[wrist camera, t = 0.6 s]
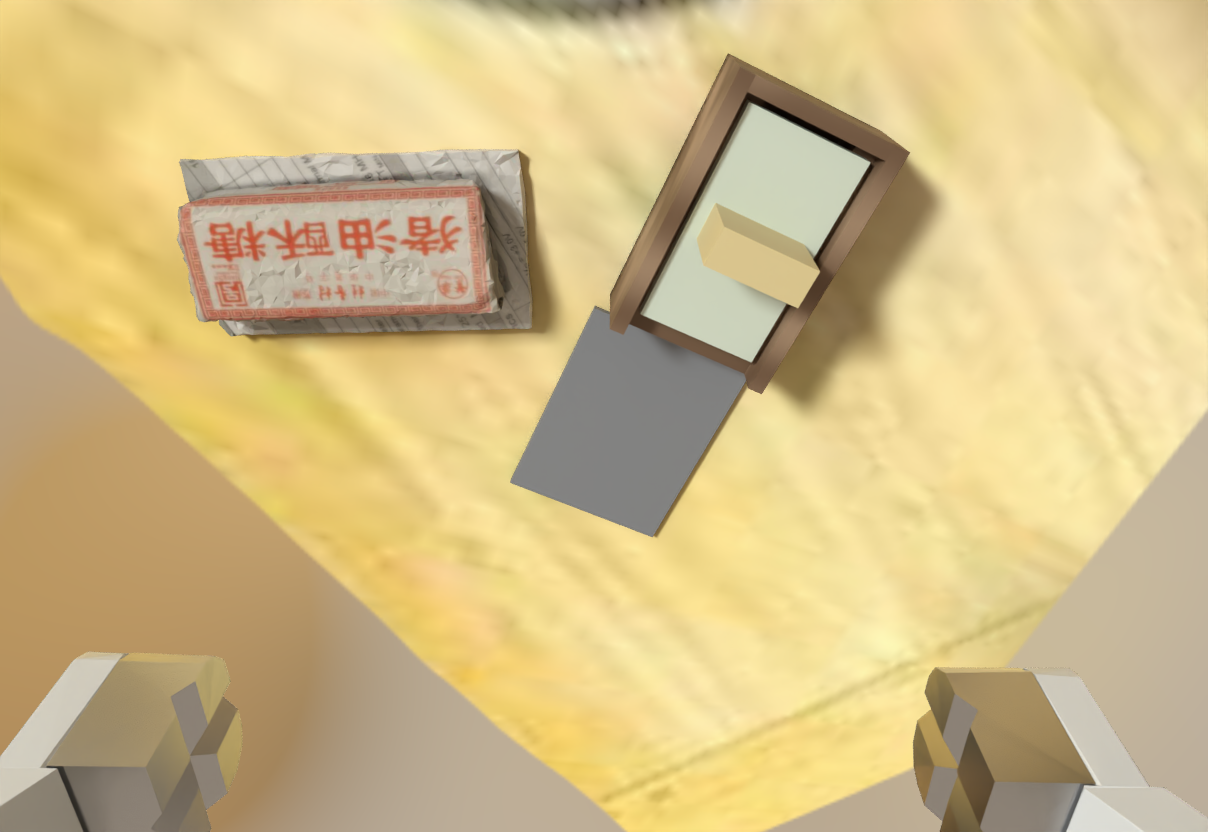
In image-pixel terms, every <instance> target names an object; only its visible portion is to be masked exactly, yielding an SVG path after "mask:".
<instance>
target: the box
mask: <svg viewBox="0 0 1208 832" xmlns="http://www.w3.org/2000/svg"><path fill="white" fill-rule="evenodd" d="M747 99H748V100H750V101H752V102H754V103H756V104H758V105H760V106H762V107H764V108H766V109H768V110H770V111H772V112H774V113H776V114H778V115H780V116H782V117H784V118H786V119H788V120H790V121H792V122H794V123H796V124H798V125H800V126H802V127H804V128H806V129H808V130H810V131H812V132H814V133H816V134H818V135H820V136H822V137H824V138H826V139H828V140H830V141H832V142H834V143H836V144H838V145H840V146H842V147H844V148H846V149H848V150H850V151H852V152H854V153H856V154H858V155H860V156H862V157H864V158H866V159H867V160H868V161H870V162H871V163H870V165H869V166H868V168H867V170H866V171H865V173H864V175H863V176H862V178H861V180H860V181H859V183H858V185H857V186H856V188H855V190H854V191H853V193H852V195H851V197H850V198H849V200H848V202H847V203H846V205H845V207H844V208H843V210H842V212H841V213H840V215H839V217H838V218H837V220H836V222H835V223H834V225H833V227H832V228H831V230H830V232H829V233H828V235H827V237H826V238H825V240H824V242H823V243H822V245H821V247H820V249H819V250H818V252H817V254H816V255H815V257H814V259H813V260H814V262H815V263H816V265H817V267H818V268H819V270H820V273H819V275H818V276H817V278H816V280H815V281H814V283H813V284H812V286H811V288H810V289H809V291H808V293H807V294H806V296H805V298H804V299H803V301H802V303H801V304H800V306H799V308H796V307H794V306H791V305H789V304H786V306H785V307H784V309H783V311H782V312H781V314H780V316H779V317H778V319H777V321H776V322H775V324H774V326H773V327H772V329H771V331H770V332H769V334H768V336H767V337H766V339H765V341H764V342H763V344H762V346H761V347H760V349H759V351H758V352H757V354H756V356H755V358H754V359H753V361H752V363H751V362H749V361H747V360H744V359H742V358H740V357H738V356H735V355H733V354H731V353H728V352H726V351H724V350H722V349H719V348H717V347H715V346H712V345H710V344H708V343H705V342H703V341H701V340H699V339H696V338H694V337H692V336H689V335H687V334H685V333H682V332H680V331H678V330H676V329H673V328H671V327H669V326H666V325H664V324H662V323H659V322H657V321H655V320H653V319H650V318H648V317H646V316H643V315H641V314H640V307H641V305H642V303H643V301H644V299H645V297H646V295H647V293H648V291H649V290H650V288H651V286H652V284H653V282H654V280H655V278H656V276H657V274H658V272H659V270H660V268H661V266H662V264H663V262H664V260H665V258H666V256H667V254H668V252H669V250H670V248H671V247H672V245H673V243H674V241H675V239H676V237H677V235H678V233H679V231H680V229H681V227H682V225H683V223H684V221H685V219H686V217H687V215H688V213H689V211H690V209H691V207H692V205H693V203H694V202H695V200H696V198H697V196H698V194H699V192H700V190H701V188H702V186H703V184H704V182H705V180H706V178H707V176H708V174H709V172H710V170H711V168H712V166H713V164H714V162H715V160H716V158H717V157H718V155H719V153H720V151H721V149H722V147H723V145H724V143H725V141H726V139H727V137H728V135H729V133H730V131H731V129H732V127H733V125H734V123H735V121H736V119H737V117H738V115H739V114H740V112H741V110H742V108H743V106H744V104H745V102H746V100H747ZM909 154H910V152H908V151H907V150H906V149H904V148H903V147H902V146H900V145H899V144H898V143H896V142H895V141H894V140H892V139H891V138H890V137H888V136H887V135H886V134H884V133H883V132H882V131H880V130H878V129H876V128H874V127H872V126H870V125H868V124H866V123H864V122H862V121H860V120H858V119H856V118H854V117H852V116H850V115H848V114H846V113H844V112H842V111H840V110H838V109H836V108H834V107H833V106H831V105H829V104H827V103H825V102H823V101H821V100H819V99H817V98H815V97H813V96H811V95H809V94H807V93H805V92H803V91H801V90H799V89H797V88H795V87H793V86H791V85H789V84H787V83H785V82H783V81H781V80H779V79H777V78H775V77H773V76H771V75H769V74H768V73H766V72H764V71H762V70H760V69H758V68H756V67H754V66H752V65H750V64H748V63H746V62H744V61H742V60H740V59H738V58H736V57H734V56H732V55H730V54H728V55H727V57H726V59H725V61H724V63H723V65H722V67H721V69H720V71H719V73H718V75H717V77H716V79H715V81H714V83H713V85H712V87H711V90H710V92H709V94H708V96H707V98H706V100H705V102H704V104H703V106H702V108H701V110H700V112H699V114H698V116H697V118H696V120H695V122H694V124H693V126H692V128H691V130H690V132H689V134H688V136H687V139H686V141H685V143H684V145H683V147H682V149H681V151H680V153H679V155H678V157H677V159H676V161H675V163H674V165H673V167H672V169H671V171H670V173H669V175H668V177H667V179H666V181H665V183H664V185H663V188H662V190H661V192H660V194H659V196H658V198H657V200H656V202H655V204H654V206H653V208H652V210H651V212H650V214H649V216H648V218H647V220H646V222H645V224H644V226H643V228H642V230H641V232H640V235H639V237H638V239H637V241H636V243H635V245H634V247H633V249H632V251H631V253H630V255H629V257H628V259H627V261H626V263H625V265H624V267H623V269H622V271H621V273H620V275H619V277H618V279H617V281H616V284H615V286H614V288H613V290H612V292H611V294H610V329H611V330H613V331H615V332H618V333H620V334H622V335H624V333H625V331H626V329H627V327H628V325H629V324H630V325H632V326H635V327H637V328H639V329H642V330H644V331H646V332H649V333H651V334H653V335H656V336H658V337H660V338H662V339H665V340H667V341H669V342H672V343H674V344H676V345H679V346H681V347H683V348H686V349H688V350H690V351H693V352H695V353H697V354H700V355H702V356H704V357H706V358H709V359H711V360H713V361H716V362H718V363H720V364H723V365H725V366H727V367H730V368H732V369H734V370H737V371H739V372H741V373H744V374H745V378H746V381H747V385H748V388H749V389H751V390H753V391H755V392H758V393H760V394H762V393H763V391H764V390H765V388H766V386H767V385H768V383H769V381H770V380H771V378H772V377H773V375H774V373H775V372H776V370H777V368H778V367H779V365H780V364H781V362H782V360H783V359H784V357H785V355H786V354H787V352H788V351H789V349H790V347H791V346H792V344H793V342H794V341H795V339H796V337H797V336H798V334H799V333H800V331H801V329H802V328H803V326H804V324H805V323H806V321H807V320H808V318H809V316H810V315H811V313H812V311H813V310H814V308H815V307H816V305H817V303H818V302H819V300H820V298H821V297H822V295H823V294H824V292H825V290H826V289H827V287H828V285H829V284H830V282H831V281H832V279H833V277H834V276H835V274H836V272H837V271H838V269H839V267H840V266H841V264H842V263H843V261H844V259H845V258H846V256H847V254H848V253H849V251H850V250H851V248H852V246H853V245H854V243H855V241H856V240H857V238H858V237H859V235H860V233H861V232H862V230H863V228H864V227H865V225H866V224H867V222H868V220H869V219H870V217H871V215H872V214H873V212H874V211H875V209H876V207H877V206H878V204H879V202H880V201H881V199H882V197H883V196H884V194H885V193H886V191H887V189H888V188H889V186H890V184H891V183H892V181H893V180H894V178H895V176H896V175H897V173H898V171H899V170H900V168H901V167H902V165H903V163H904V162H905V160H906V158H907V157H908V155H909Z"/></svg>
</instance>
